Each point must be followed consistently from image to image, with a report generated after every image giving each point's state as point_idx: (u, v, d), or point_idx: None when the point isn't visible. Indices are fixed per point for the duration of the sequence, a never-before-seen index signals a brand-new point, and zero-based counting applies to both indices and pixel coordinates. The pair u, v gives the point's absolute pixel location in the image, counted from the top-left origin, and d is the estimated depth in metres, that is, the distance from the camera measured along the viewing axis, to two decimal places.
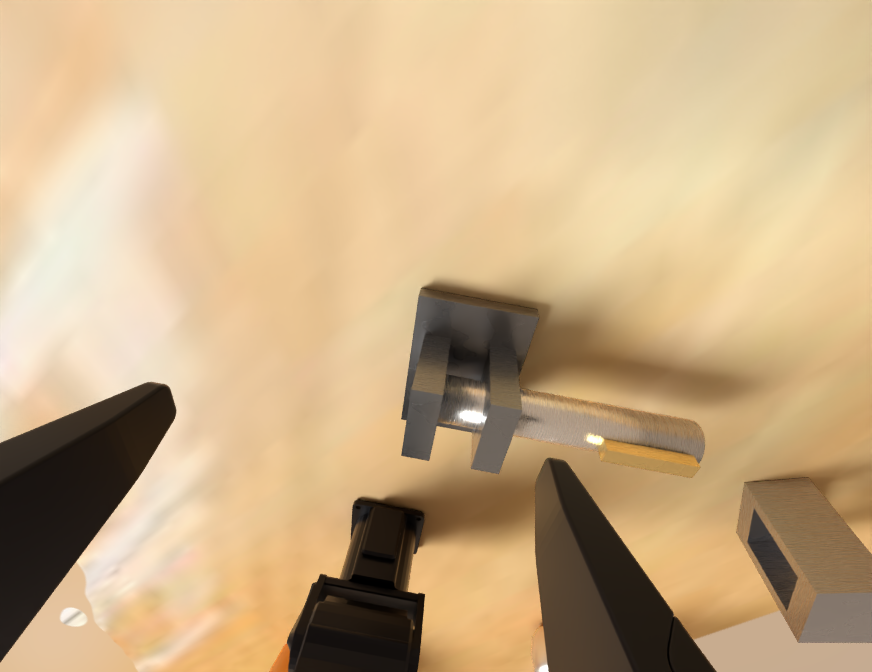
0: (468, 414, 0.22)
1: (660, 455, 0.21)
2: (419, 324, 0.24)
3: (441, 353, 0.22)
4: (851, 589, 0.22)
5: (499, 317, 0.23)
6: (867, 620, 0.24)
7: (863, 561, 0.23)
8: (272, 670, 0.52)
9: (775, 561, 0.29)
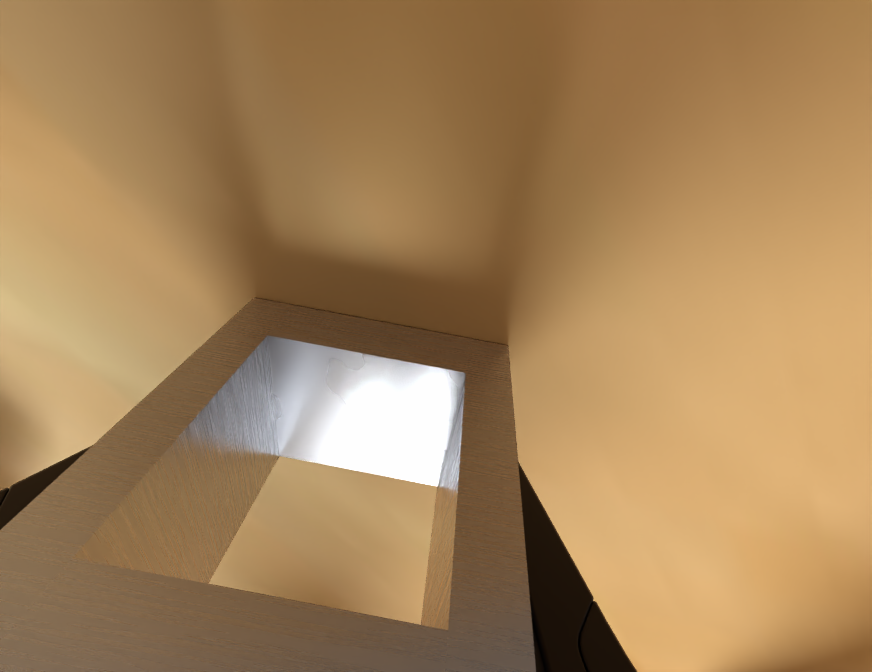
0: None
1: None
2: None
3: None
4: None
5: None
6: None
7: None
8: None
9: (438, 514, 0.09)
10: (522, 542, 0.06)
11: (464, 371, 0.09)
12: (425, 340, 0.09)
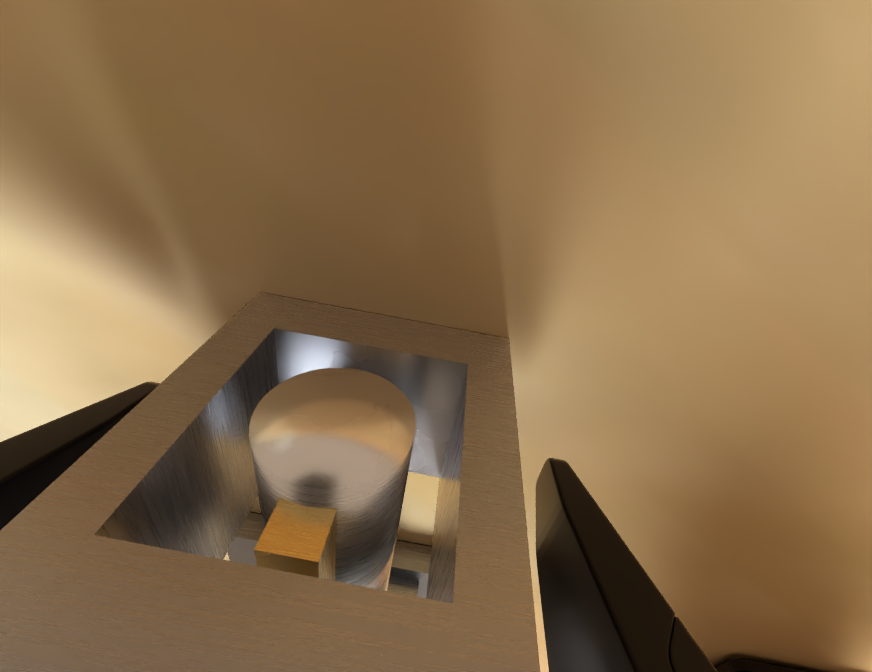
0: None
1: None
2: None
3: None
4: None
5: None
6: None
7: None
8: None
9: (440, 503, 0.09)
10: (524, 524, 0.06)
11: (466, 363, 0.09)
12: (427, 333, 0.10)
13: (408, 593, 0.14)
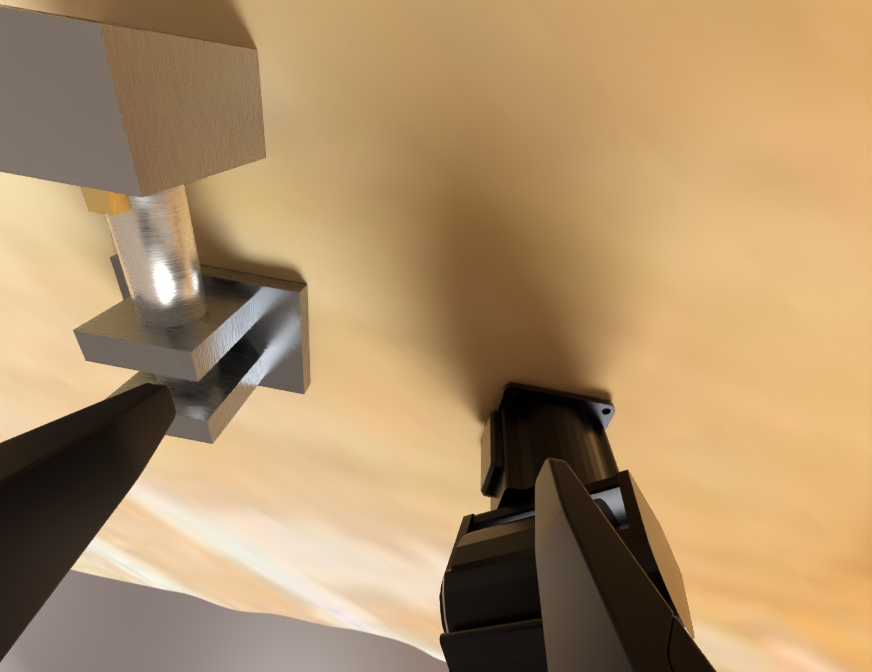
0: None
1: None
2: None
3: None
4: None
5: (130, 296, 0.21)
6: None
7: None
8: None
9: None
10: (171, 35, 0.11)
11: None
12: (200, 39, 0.15)
13: (242, 299, 0.20)
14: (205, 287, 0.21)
